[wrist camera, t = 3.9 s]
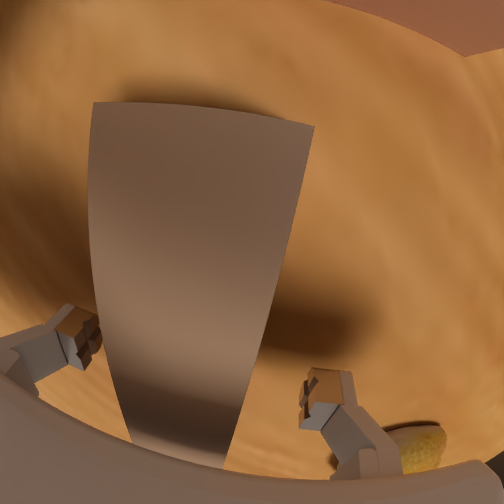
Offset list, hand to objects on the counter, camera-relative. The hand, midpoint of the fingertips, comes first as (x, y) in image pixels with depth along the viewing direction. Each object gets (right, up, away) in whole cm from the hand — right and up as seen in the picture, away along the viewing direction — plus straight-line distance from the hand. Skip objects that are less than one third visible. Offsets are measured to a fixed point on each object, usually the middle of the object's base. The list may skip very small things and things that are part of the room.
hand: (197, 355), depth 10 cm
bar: (0, +1, +2) cm, 2 cm away
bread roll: (+12, -11, +6) cm, 18 cm away
